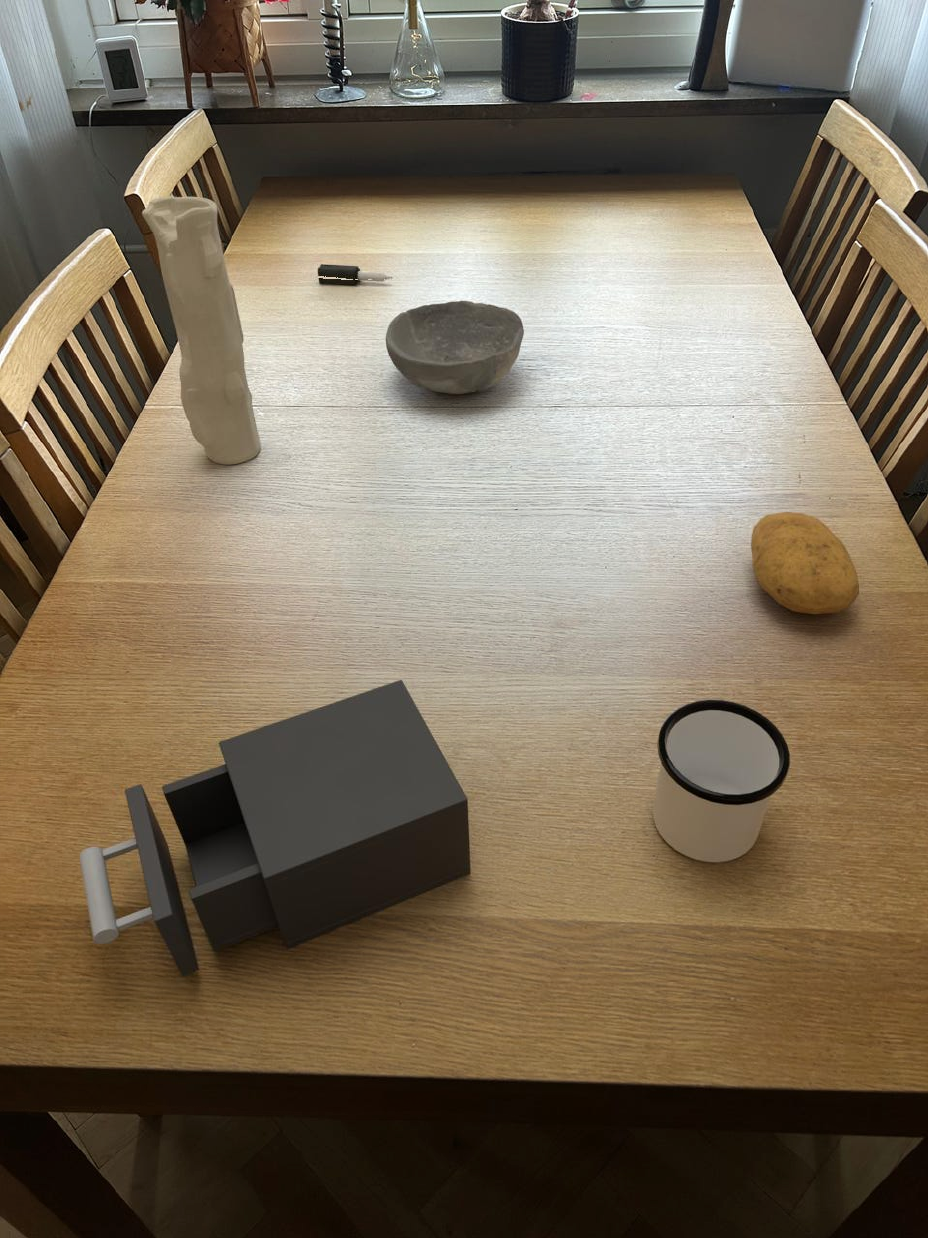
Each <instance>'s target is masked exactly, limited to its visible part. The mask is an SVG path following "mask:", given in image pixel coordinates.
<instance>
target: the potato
mask: <svg viewBox="0 0 928 1238" xmlns="http://www.w3.org/2000/svg"><path fill="white" fill-rule="evenodd" d="M750 549H751V557H752V568H753V571H754V572H753V573H754V575H755V580H756V581H757V582H758V584H759V586H760V587H761V589H762V590H764V591H765V592H766V593H767V594H768V595H769V596H771V597H772V598H773V599H774V600H775V601H776V602H777V604H779V605H780V606H783V607H785V608H787V609H789V610H790V611H792V612H795V613H801V614H802V613H803V614H808V615H809V614H810V615H820V614H821V615H822V614H830V613H840V612H842V611H843V610H844V609H846V608H847V607H849V606H850V605H852V604H853V603H855V601H856V600H857V598H858V597H859V596H860V584H859V577H858V571H857V570H856V567H855V564H854V562H853V560H852V558H851V556H850V554H849V552H848V550H847V549H846V547H845V545H844V543H843V542H842V540H841V539H840V538H839V537H838V536H837V535H836V534H834V532H833V531H832V530H831V529H830V528H829V526H827V525H826V524H825V523H824V522H823V521H821V520H820V519H819V518H818V517H814V516H811V515H809V514H804V513H803V512H791V511H784V512H777V513H771V514H766V515H764V516H762V517H761V518H760V519H759V520H758V522H757V523H756V524H755V525H754V526H753V528H752V532H751V541H750Z"/></svg>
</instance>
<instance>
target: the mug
mask: <svg viewBox="0 0 928 1238" xmlns="http://www.w3.org/2000/svg"><path fill="white" fill-rule="evenodd" d="M656 747H657V754H658V758H659V760H660V765H659V766H660V767H659V771H658V777H657V782H656V786H655V787H656V788H655V792H654V797H653V802H652V811H651V812H652V820H653V822H654V825H655V828H656V830H657V832H658V833H659V835H660V836H661V838H662V839H663V840H664V841H665V842H666V844H668V845H669V846H670V847H671V848H673V850H675V851H676V852H678V853H680V854H682V855H684V856H685V857H688V858H690V859H694V860H696V861H701V862H706V863H723V862H729V861H732V860H736V859H738V858H740V857H741V856H743V855H745V854H746V853H748V851H749V850H751V849H752V848H753V846H754V845H755V843H756V842H757V840H758V837H759V834H760V831H761V829H762V825H763V822H764V819H765V816H766V814H767V810H768V808H769V805H770V801H771V799H772V795H774V794H775V793H776V791H778V790H779V789H780V788H781V787H782V786H783V784H784V782H785V781H786V779H787V776H788V773H789V770H790V766H791V753H790V750H789V746H788V743H787V741H786V739H785V737H784V735H783V734H782V732H781V731H780V730H779V728H778V727H777V726H776V725H775V724H774V723H773V722H772V721H771V720H770V719H769V718H768V717H766V716H764V714H762V713H760V712H758V711H757V710H755V709H753V708H751V707H749V706H747V705H744V704H741V703H737V702H735V701H729V700H722V699H713V698H711V699H703V700H696V701H693V702H690V703H686V704H684V705H682V706H679V707H678V708H676V709H675V710H674V711H673V712H671V713H670V714H669V715H668V716H667V717H666V719H664V721H663V723H662V725H661V728H660V729H659V733H658V735H657V745H656Z"/></svg>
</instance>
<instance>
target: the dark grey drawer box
mask: <svg viewBox="0 0 928 1238" xmlns="http://www.w3.org/2000/svg"><path fill="white" fill-rule="evenodd" d="M218 745H219V750H220V751H221V754H222V757H223V761H224V764H226V767H227V770H228V773H229V776H230V779H231V782H232V785H233V788H234V791H235V794H236V797H237V800H238V803H239V806H240V809H241V812H242V815H243V818H244V821H245V824H246V827H247V830H248V833H249V836H250V839H251V843H252V846H253V849H254V852H255V855H256V858H257V861H258V864H259V867H260V870H261V873H262V876H263V879H264V882H265V885H266V888H267V891H268V894H269V897H270V900H271V903H272V906H273V909H274V912H275V915H276V919H277V922H278V925H279V926H278V927H279V931H280V933H281V936H282V940H283V943H284V946H285V948H286V950H289V949H292V948H294V947H296V946H299V945H301V944H305V943H307V942H309V941H311V940H314V939H316V938H318V937H320V936H323V935H326V934H328V933H329V932H333V931H336V930H338V929H340V928H342V927H345V926H347V925H349V924H350V925H351V923H354V922H356V921H359V920H361V919H363V918H366V917H368V916H371V915H374V914H377V913H379V912H381V911H384V910H386V909H388V908H390V907H393V906H396V905H397V904H400V903H402V902H405V901H407V900H410V899H413V898H414V897H417V896H420V895H422V894H425V893H428V892H429V891H432V890H434V889H436V888H439V887H441V886H444V885H445V884H448V883H450V882H453V881H455V880H458V879H460V878H463V877H465V876H468V875H470V874H471V873H472V872H471V871H472V870H471V851H470V849H471V848H470V824H469V801H468V800H469V799H468V797H467V795H466V794H465V792H464V790H463V788H462V786H461V784H460V783H459V781H458V779H457V777H456V776H455V773H454V772H453V769H452V767H451V766H450V765H449V763H448V761H447V759H446V757H445V756H444V754H443V752H442V750H441V748H440V746H439V744H438V743H437V741H436V739H435V736H433V734H432V732H431V730H430V729H429V726H428V724H427V722H426V720H425V719H424V717H423V715H422V714H421V712H420V710H419V708H418V707H417V705H416V703H415V701H414V699H413V698H412V696H411V694H410V692H409V690H408V688H407V686H406V684H405V682H404V681H403V679H398V680H396V681H393V682H391V683H387V684H384V685H382V686H379V687H376V688H373V689H370V690H367V691H363V692H361V693H358V694H354V695H353V696H349V697H347V698H343V699H341V700H337V701H334V702H332V703H329V704H326V705H323V706H320V707H317V708H314V709H311V710H309V711H305V712H302V713H299V714H296V715H294V716H291V717H288V718H285V719H282V720H279V721H276V722H273V723H270V724H267V725H265V726H261V727H258V728H256V729H253V730H250V731H247V732H245V733H241V734H238V735H235V736H233V737H230V738H229V737H228V738H226V739H224V740H221V741H218Z"/></svg>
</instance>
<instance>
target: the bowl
mask: <svg viewBox="0 0 928 1238" xmlns="http://www.w3.org/2000/svg"><path fill="white" fill-rule="evenodd" d="M524 334H525V329H524V324H523V321H522V319H521V317H520V316H519V314H517V313H516V312H515V311H514V310H511V309H509V308H506V307H501V306H497V305H494V304H490V303H487V304H486V303H483V302H473V301H469V300H459V301H457V300H455V301H448V302H440V303H432V304H424V305H421V306H417V307H415V308H410V309H408V310H406V311H402V312H400V313H399V314H398V315H397V316H395V317H394V318H393V319H392V320H391V321H390V323H389V324H388V327H387V330H386V334H385V347H386V352H387V354H388V357H389V359H390V360H391V362H392V364H393V365H394V367H395V368H396V369H397V371H398V372H399V373H400V374H401V375H402V376H404V378H406V379H407V381H409V382H410V383H412V384H413V385H415V386H417V387H420V388H423V389H425V390H428V391H429V392H436V393H442V394H450V395H464V394H472V393H474V392H479V391H485V390H487V389H490V388H491V387H494V386H496V385H498V384H499V383H500V382H501V381H502V380H503V379H504V378H505V377H506V376H507V374H509V372H510V371H511V369H512V367H513V366H514V364H515V362H516V361H517V360H518V357H519V354H520V350H521V346H522V342H523V339H524Z"/></svg>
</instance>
